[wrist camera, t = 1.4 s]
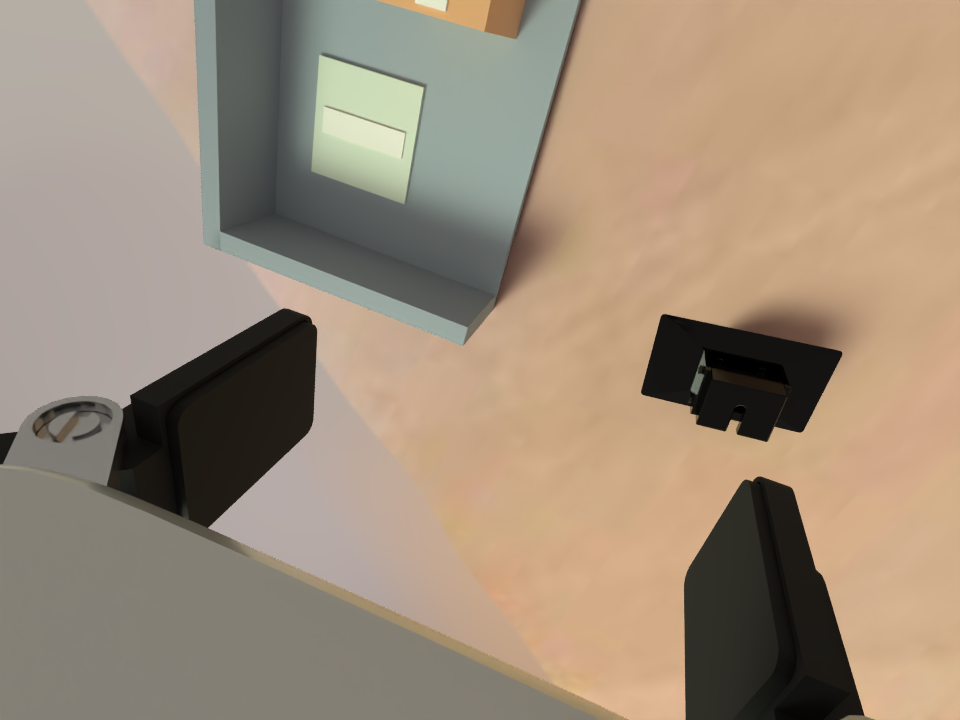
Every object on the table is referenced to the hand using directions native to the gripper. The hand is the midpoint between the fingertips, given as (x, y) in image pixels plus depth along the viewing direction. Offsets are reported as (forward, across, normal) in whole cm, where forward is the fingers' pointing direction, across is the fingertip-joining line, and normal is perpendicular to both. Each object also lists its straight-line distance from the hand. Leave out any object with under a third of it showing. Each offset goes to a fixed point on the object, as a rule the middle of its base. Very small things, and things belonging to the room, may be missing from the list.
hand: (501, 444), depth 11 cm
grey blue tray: (+21, +13, -4) cm, 25 cm away
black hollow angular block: (+22, -10, +6) cm, 25 cm away
